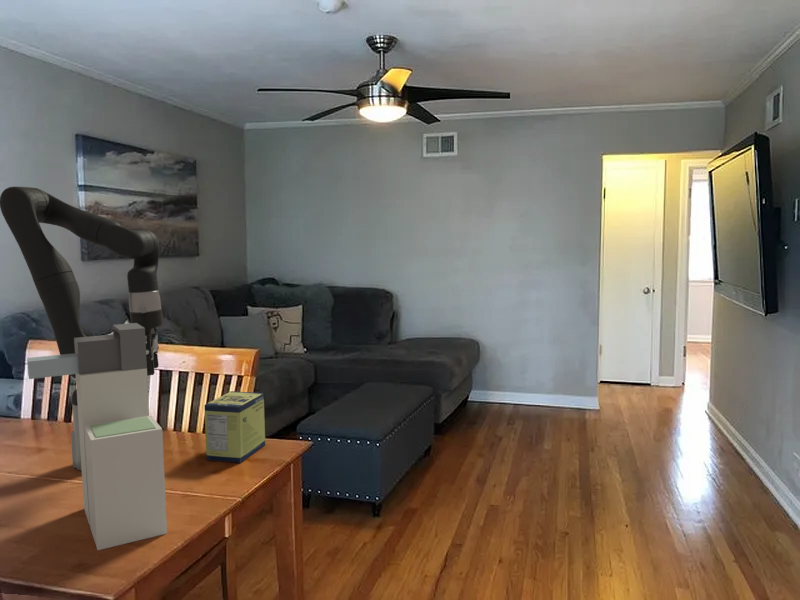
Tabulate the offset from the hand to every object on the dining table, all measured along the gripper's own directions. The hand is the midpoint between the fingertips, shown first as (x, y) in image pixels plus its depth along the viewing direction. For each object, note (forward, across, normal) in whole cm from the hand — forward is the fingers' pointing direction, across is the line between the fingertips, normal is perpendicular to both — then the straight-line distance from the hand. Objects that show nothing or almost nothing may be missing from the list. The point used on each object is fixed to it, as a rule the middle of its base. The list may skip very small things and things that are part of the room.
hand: (152, 371), depth 165 cm
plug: (-7, +27, -11) cm, 30 cm away
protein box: (+27, -7, +19) cm, 34 cm away
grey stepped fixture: (+26, +31, -4) cm, 40 cm away
